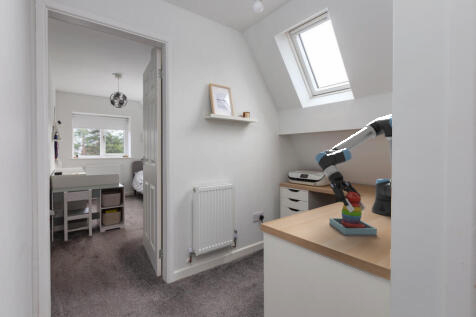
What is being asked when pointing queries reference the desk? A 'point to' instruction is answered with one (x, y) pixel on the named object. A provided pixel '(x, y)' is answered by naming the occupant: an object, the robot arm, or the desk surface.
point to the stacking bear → (355, 216)
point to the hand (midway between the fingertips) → (358, 210)
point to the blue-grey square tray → (353, 231)
